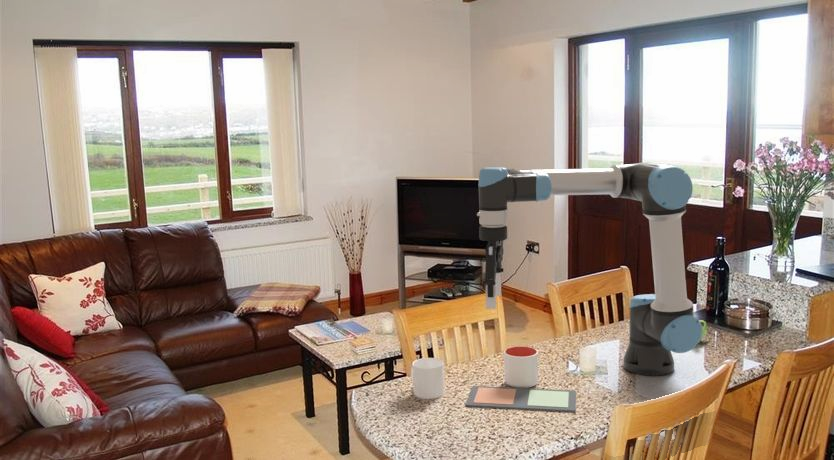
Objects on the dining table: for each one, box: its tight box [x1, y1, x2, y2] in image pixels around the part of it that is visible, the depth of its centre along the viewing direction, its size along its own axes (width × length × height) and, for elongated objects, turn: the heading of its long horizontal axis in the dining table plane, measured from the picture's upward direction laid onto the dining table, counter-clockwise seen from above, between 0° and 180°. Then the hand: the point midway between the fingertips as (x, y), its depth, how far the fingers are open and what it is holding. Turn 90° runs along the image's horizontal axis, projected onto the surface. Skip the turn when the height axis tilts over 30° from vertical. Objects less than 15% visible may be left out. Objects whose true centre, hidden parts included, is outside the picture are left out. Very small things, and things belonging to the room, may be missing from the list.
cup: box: [503, 345, 539, 388], centre depth 218 cm, size 10×10×10 cm
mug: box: [410, 357, 445, 400], centre depth 214 cm, size 12×9×9 cm
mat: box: [465, 385, 577, 413], centre depth 207 cm, size 30×14×1 cm, turn 77°
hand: (493, 301), depth 200 cm, fingers open, 13 cm apart
